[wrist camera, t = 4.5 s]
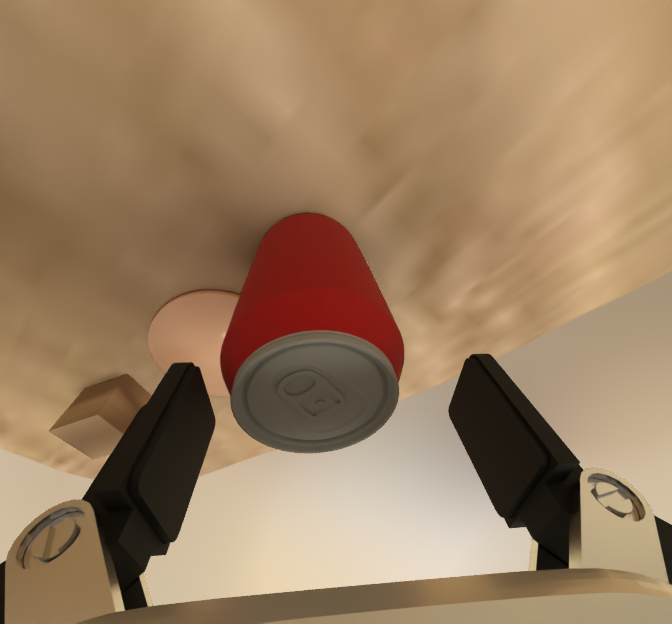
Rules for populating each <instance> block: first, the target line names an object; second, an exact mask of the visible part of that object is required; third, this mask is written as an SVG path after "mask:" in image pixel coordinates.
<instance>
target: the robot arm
mask: <svg viewBox="0 0 672 624" xmlns="http://www.w3.org/2000/svg"><path fill="white" fill-rule="evenodd" d="M449 416H450V419H451V421H452V423H453V425H454V427H455V429H456V431H457V433H458V435H459V437H460V439H461V441H462V443H463V445H464V447H465V449H466V451H467V453H468V455H469V457H470V459H471V461H472V463H473V465H474V467H475V469H476V471H477V473H478V475H479V477H480V479H481V481H482V483H483V485H484V487H485V489H486V492H487V494H488V496H489V498H490V500H491V502H492V504H493V506H494V507H495V510H496V511H497V513H498V514H499V515H500V516H501V517H503V518H504V519H505V521H506V523H507V525H508V527H509V528H518V527H527V529H528V531H529V533H530V535H531V536H532V542H531V551H530V561H529V571H522V572H509V573H498V574H485V575H474V576H462V577H450V578H438V579H427V580H415V581H405V582H394V583H382V584H370V585H359V586H349V587H337V588H326V589H315V590H304V591H295V592H283V593H273V594H262V595H252V596H241V597H232V598H220V599H211V600H202V601H193V602H185V603H176V604H168V605H158V606H153V604H152V601H151V597H150V594H149V591H148V587H147V584H146V581H145V577H144V574H143V572H144V571H145V569H146V567H147V564H148V562H149V559H150V557H151V556H157V555H166V553H167V550H168V547H169V544H170V542H174V541H175V540H176V539H177V537H178V534H179V531H180V529H181V525H182V523H183V520H184V517H185V514H186V511H187V508H188V505H189V502H190V499H191V496H192V493H193V490H194V487H195V485H196V481H197V479H198V476H199V473H200V470H201V467H202V464H203V461H204V458H205V455H206V452H207V449H208V446H209V443H210V440H211V437H212V434H213V431H214V428H215V416H214V412H213V409H212V406H211V403H210V399H209V396H208V393H207V389H206V386H205V383H204V380H203V376H202V373H201V370H200V367H199V366H195V365H194V363H193V362H180V363H173V364H172V365H171V366H170V368H169V369H168V371H167V372H166V374H165V376H164V377H163V379H162V380H161V382H160V384H159V385H158V387H157V388H156V390H155V392H154V393H153V395H152V396H151V398H150V400H149V401H148V403H147V404H145V405H144V406H142V407H141V409H140V410H139V411H138V412H137V414H136V416H135V417H134V419H133V420H132V422H131V423H130V425H129V427H128V428H127V430H126V431H125V433H124V434H123V436H122V437H121V439H120V441H119V442H118V444H117V445H116V447H115V448H114V450H113V452H112V453H111V455H110V456H109V458H108V459H107V461H106V462H105V464H104V466H103V467H102V469H101V470H100V472H99V473H98V475H97V477H96V478H95V480H94V481H93V483H92V484H91V486H90V487H89V489H88V491H87V492H86V494H85V495H84V497H83V498H82V500H70V501H67V502H63V503H60V504H58V505H56V506H54V507H52V508H50V509H48V510H47V511H45V512H44V513H43V514H41V515H40V516H38V517H37V518H36V519H35V520H34V521H33V522H31V523H30V524H29V525H28V526H27V527H26V528H25V529H24V530H23V531H22V533H21V534H20V535H19V536H18V537H17V539H16V540H15V541H14V543H13V545H12V547H11V549H10V550H9V552H8V555H7V559H6V561H4V562H3V563H1V564H0V624H672V525H671V524H669V523H667V522H665V521H663V520H661V519H660V518H658V517H656V516H654V514H653V512H652V509H651V507H650V505H649V504H648V502H647V501H646V500H645V498H644V497H643V496H642V495H641V494H640V493H639V492H638V491H637V490H636V489H635V488H634V487H633V486H632V485H631V484H629V483H628V482H627V481H625V480H624V479H622V478H621V477H619V476H617V475H615V474H614V473H611V472H609V471H606V470H603V469H599V468H587V469H585V470H583V469H582V468H581V467H580V465H579V463H580V462H579V460H578V459H577V458H576V457H575V456H574V455H573V453H572V452H571V451H570V449H569V448H568V447H567V446H566V445H565V443H564V442H563V441H562V440H561V439H560V437H559V436H558V435H557V434H556V433H555V431H554V430H553V429H552V428H551V427H550V425H549V424H548V423H547V422H546V421H545V419H544V418H543V417H542V416H541V415H540V414H539V412H538V411H537V410H536V409H535V407H534V406H533V405H532V404H531V403H530V401H529V400H528V399H527V398H526V396H525V395H524V394H523V393H522V392H521V390H520V389H519V388H518V387H517V386H516V385H515V383H514V382H513V381H512V380H511V379H510V377H509V376H508V375H507V374H506V372H505V371H504V370H503V369H502V368H501V366H500V365H499V364H498V363H497V362H496V360H495V359H494V358H493V357H492V356H491V355H490V354H472V355H471V356H470V357H469V358H467V359H466V360H465V363H464V365H463V368H462V371H461V374H460V377H459V380H458V383H457V385H456V388H455V391H454V394H453V397H452V400H451V403H450V406H449Z"/></svg>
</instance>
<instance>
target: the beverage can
mask: <svg viewBox="0 0 672 624" xmlns="http://www.w3.org/2000/svg"><path fill="white" fill-rule="evenodd" d="M403 363H404V344H403V340H402V336H401V333H400V331H399V329H398V327H397V325H396V323H395V321H394V318H393V316H392V314H391V312H390V310H389V308H388V306H387V303H386V301H385V299H384V297H383V295H382V293H381V291H380V289H379V287H378V285H377V283H376V281H375V279H374V277H373V275H372V273H371V271H370V269H369V267H368V265H367V263H366V261H365V259H364V257H363V255H362V253H361V251H360V249H359V247H358V246H357V244H356V242H355V240H354V238H353V237H352V235H351V234H350V233H349V231H348V230H347V229H346V228H345V227H344V226H342V225H341V224H340V223H338V222H337V221H335V220H333V219H331V218H329V217H326V216H323V215H318V214H308V213H307V214H298V215H293V216H290V217H288V218H285V219H283V220H281V221H280V222H278V223H277V224H275V225H274V226H273V227H272V228H271V229H270V230H269V231H268V232H267V233H266V235H265V236H264V238H263V240H262V241H261V244H260V246H259V248H258V251H257V253H256V255H255V258H254V260H253V263H252V265H251V268H250V271H249V273H248V276H247V278H246V281H245V283H244V286H243V289H242V291H241V294H240V297H239V299H238V302H237V305H236V307H235V310H234V313H233V316H232V318H231V321H230V324H229V327H228V330H227V332H226V335H225V338H224V341H223V344H222V347H221V353H220V367H221V373H222V377H223V380H224V383H225V385H226V387H227V390H228V392H229V394H230V396H231V409H232V412H233V415H234V417H235V419H236V421H237V423H238V424H239V426H240V427H241V428H242V429H243V430H244V431H245V432H246V433H247V434H248V435H249V436H251V437H252V438H254V439H255V440H257V441H258V442H260V443H262V444H264V445H267V446H269V447H272V448H275V449H279V450H282V451H288V452H295V453H321V452H328V451H334V450H338V449H342V448H345V447H348V446H351V445H353V444H356V443H358V442H360V441H362V440H364V439H366V438H368V437H369V436H371V435H372V434H374V433H375V432H376V431H377V430H379V429H380V428H381V427H382V426H383V425H384V424H385V423H386V422H387V420H388V419H389V418H390V417H391V415H392V413H393V412H394V410H395V408H396V405H397V402H398V397H399V385H398V383H399V379H400V376H401V372H402V368H403Z"/></svg>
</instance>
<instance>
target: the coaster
mask: <svg viewBox="0 0 672 624" xmlns="http://www.w3.org/2000/svg"><path fill="white" fill-rule="evenodd" d="M239 297H240V295H239V294H235V293H231V292H227V291H219V290H202V291H195V292H190V293H187V294H184V295H181V296H179V297H177V298H175V299H173V300H171V301H170V302H169V303H167V304H166V305H165V306H164V307H163V308H162V309H161V310H160V311H159V312H158V314H157V315H156V316H155V318H154V319H153V321H152V323H151V325H150V328H149V332H148V345H149V349H150V352H151V355H152V357H153V359H154V361H155V362H156V364H157V365H158V366H159V368H160V369H161V370H162V371H163V372H164V373H165V374H166V372H167V371H168V369H169V368H170V366H171V365H172V364H173V363H180V362H193V363H194V365H195V366H199V367H200V370H201V373H202V376H203V380H204V383H205V386H206V389H207V393H208V394H209V395H216V396H230V394H229V392H228V390H227V387H226V385H225V383H224V380H223V377H222V373H221V367H220V353H221V347H222V344H223V341H224V338H225V335H226V332H227V330H228V327H229V324H230V321H231V318H232V316H233V313H234V310H235V307H236V305H237V302H238V299H239Z"/></svg>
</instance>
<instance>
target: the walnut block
mask: <svg viewBox="0 0 672 624" xmlns="http://www.w3.org/2000/svg"><path fill="white" fill-rule="evenodd" d="M150 398H151V395H150V394H149V393H148V392H147V391H146V390H145V389H144V388H143V387H141V386H140V385H139V384H138V383H137V382H136V381H135V380H134V379H133V378H132V377H131V376H129V375H128V374H125V375H122V376H119V377H117V378H114V379H111V380H108V381H105V382H102V383H99V384H96V385H94V386H91V387H88V388H85V389H84V390H83V391H82V392H81V394H80V395H79V396H78V397H77V398H76V399H75V401H74V402H73V403H72V404H71V405H70V407H69V408H68V409H67V410H66V411H65V412H64V414H63V415H62V416H61V417H60V418H59V419H58V421H57V422H56V423H55V424H54V425H53V426H52V428H51V429H50V430H49V432H51V433H52V434H54V435H55V436H57V437H59V438H60V439H62V440H63V441H65V442H66V443H68V444H70V445H71V446H73V447H74V448H76V449H77V450H79V451H81V452H82V453H84V454H85V455H87V456H89V457H90V458H92V459H96V458H100V457H103V456H106V455H109V454H111V453H112V452H113V450H114V448H115V447H116V445H117V444H118V442H119V441H120V439H121V437H122V436H123V434H124V433H125V431H126V430H127V428H128V427H129V425H130V423H131V422H132V420H133V419H134V417H135V416H136V414H137V412H138V411H139V410H140V409H141V407H142V406H144V405H145V404H147V403H148V401H149V400H150Z"/></svg>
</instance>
